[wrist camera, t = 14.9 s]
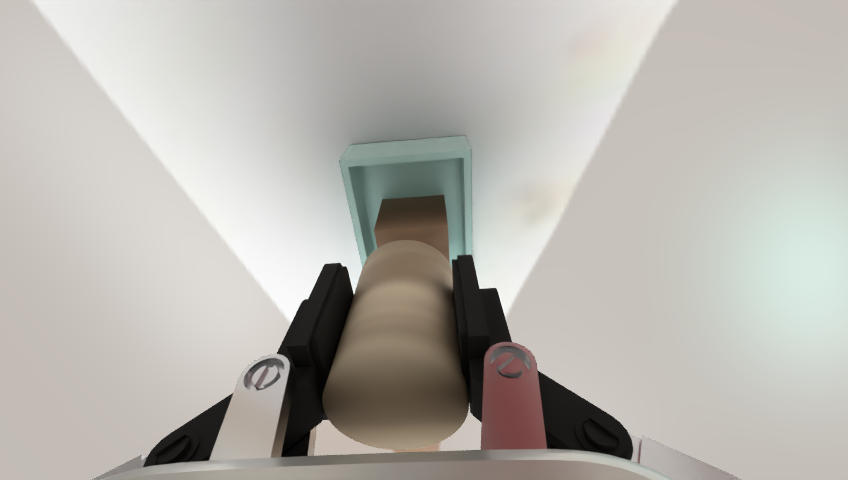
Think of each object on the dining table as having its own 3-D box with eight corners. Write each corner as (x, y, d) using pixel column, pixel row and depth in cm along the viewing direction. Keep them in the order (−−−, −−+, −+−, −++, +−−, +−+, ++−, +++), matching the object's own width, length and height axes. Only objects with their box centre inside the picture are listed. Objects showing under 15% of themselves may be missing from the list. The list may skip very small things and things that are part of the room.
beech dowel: (353, 244, 14) (305, 360, 8) (451, 236, 13) (465, 350, 8) (370, 319, 15) (339, 452, 10) (456, 313, 15) (470, 446, 10)
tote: (350, 144, 20) (339, 160, 18) (465, 135, 20) (471, 149, 17) (376, 281, 26) (371, 308, 23) (468, 275, 25) (472, 302, 23)
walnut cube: (390, 251, 24) (382, 199, 21) (447, 247, 23) (444, 194, 21) (384, 287, 20) (373, 229, 18) (450, 283, 20) (447, 224, 18)
